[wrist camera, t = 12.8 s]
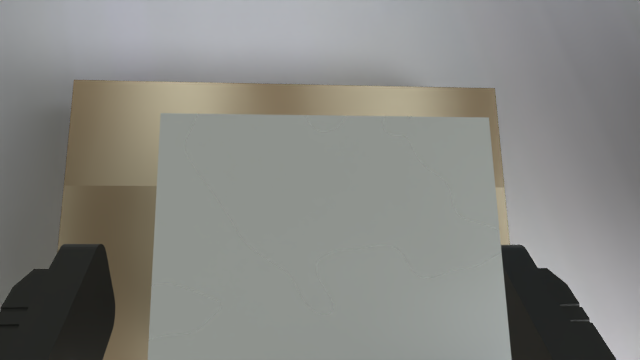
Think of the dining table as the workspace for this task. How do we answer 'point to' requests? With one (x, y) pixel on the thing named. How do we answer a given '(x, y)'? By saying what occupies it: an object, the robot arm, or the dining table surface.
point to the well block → (142, 163)
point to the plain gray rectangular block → (326, 239)
